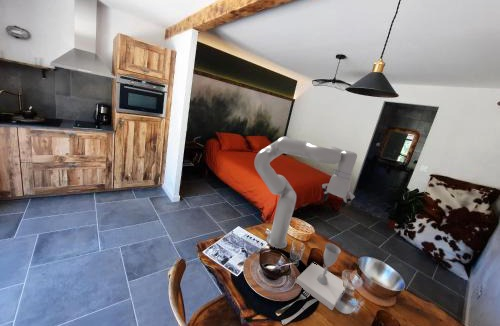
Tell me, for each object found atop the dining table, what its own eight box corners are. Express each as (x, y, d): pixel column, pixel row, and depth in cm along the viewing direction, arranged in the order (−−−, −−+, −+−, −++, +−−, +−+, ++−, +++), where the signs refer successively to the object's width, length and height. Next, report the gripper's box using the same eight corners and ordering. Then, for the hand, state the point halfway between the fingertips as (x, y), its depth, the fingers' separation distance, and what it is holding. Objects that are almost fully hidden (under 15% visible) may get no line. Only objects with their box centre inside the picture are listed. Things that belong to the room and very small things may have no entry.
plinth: (295, 283, 102) (296, 278, 102) (311, 266, 116) (313, 261, 115) (332, 310, 92) (334, 305, 91) (345, 288, 105) (347, 283, 104)
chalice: (330, 288, 99) (342, 255, 95) (315, 283, 100) (326, 250, 96) (328, 277, 106) (339, 245, 102) (314, 273, 107) (324, 241, 103)
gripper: (324, 169, 115) (315, 199, 119) (358, 181, 105) (347, 213, 109) (329, 168, 121) (321, 196, 125) (362, 179, 110) (351, 209, 115)
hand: (333, 204), depth 117 cm, fingers open, 9 cm apart
